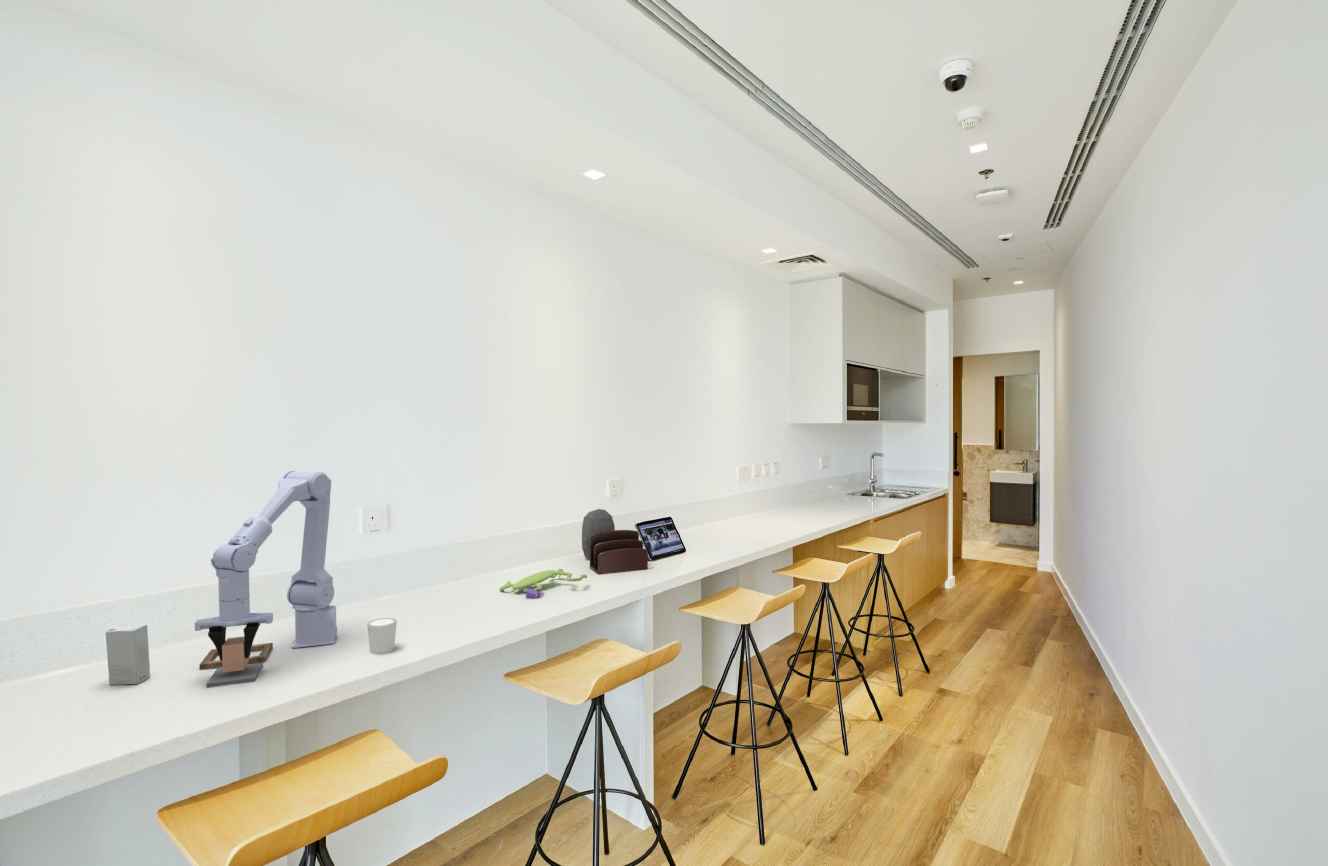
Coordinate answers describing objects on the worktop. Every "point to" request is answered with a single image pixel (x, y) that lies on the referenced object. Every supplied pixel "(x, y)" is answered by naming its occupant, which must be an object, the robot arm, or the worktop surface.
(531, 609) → the worktop surface
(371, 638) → the light grey cup
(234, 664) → the terracotta block
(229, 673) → the slate mat
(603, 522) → the small grey backpack
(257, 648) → the walnut frame
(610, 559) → the letter holder
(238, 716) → the worktop surface
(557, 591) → the worktop surface
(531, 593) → the figurine
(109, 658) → the skincare box
